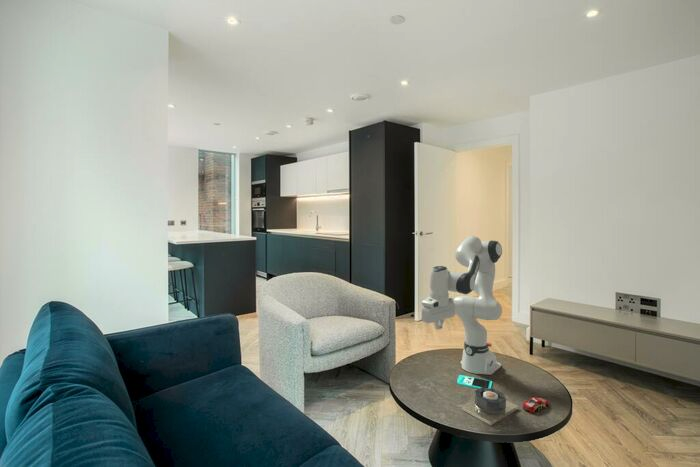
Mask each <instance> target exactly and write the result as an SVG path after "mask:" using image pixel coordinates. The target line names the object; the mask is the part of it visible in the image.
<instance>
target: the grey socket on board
mask: <svg viewBox="0 0 700 467" xmlns="http://www.w3.org/2000/svg"><path fill="white" fill-rule="evenodd" d="M486 391H490V392H494V393H496V394H497V395H498V399H497V400H491V399H486V398H484V397H483V393H484V392H486ZM517 410H519V405H517V404H515V403H514V402H513V403H512V402H511V401H509V400H507V398H506V396H505V394H504V392H501V391H499V390H498V389H495V388H492V387H491V388H480V389H475V390H474V399H473V400H471V401H469V402H467V403H465V404H463V405H461V411H463V412H466V413H467V414H469V415H470V416H473V417H475V418H476V419H478V420H479V421H482V422H483V423H486V424H487V425H489V426H492V425H494V424H496V423H497V422H499V421H500V420H502V419H504V418H506V417H507V416H509V415H511V414H512V413H514V412H515V411H517Z"/></svg>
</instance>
